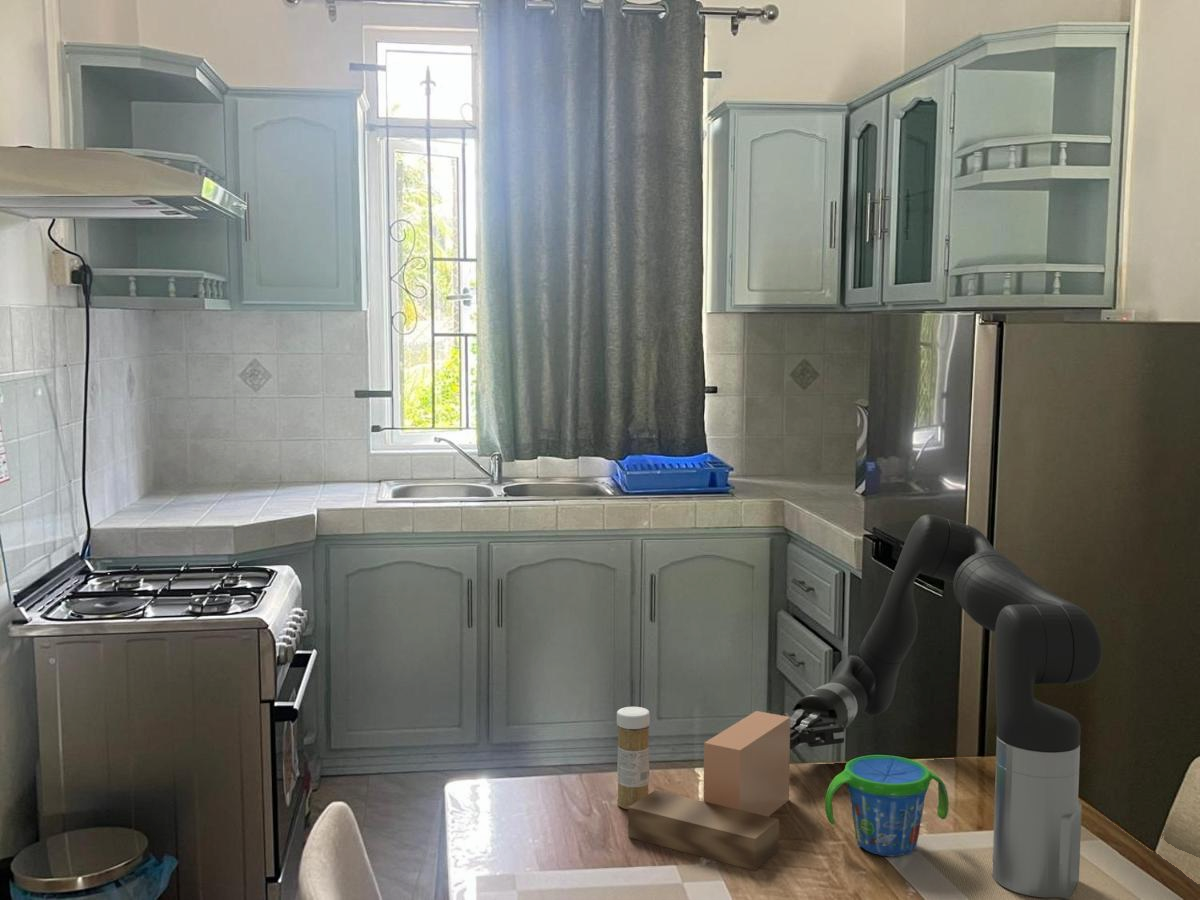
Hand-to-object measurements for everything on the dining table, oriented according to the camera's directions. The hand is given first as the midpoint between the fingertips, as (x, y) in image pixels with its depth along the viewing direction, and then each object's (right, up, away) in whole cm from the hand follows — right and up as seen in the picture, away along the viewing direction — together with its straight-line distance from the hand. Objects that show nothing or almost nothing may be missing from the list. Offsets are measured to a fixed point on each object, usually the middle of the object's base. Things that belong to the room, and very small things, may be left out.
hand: (781, 744), depth 165 cm
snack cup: (+10, -8, -19) cm, 23 cm away
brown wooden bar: (-13, -8, -18) cm, 24 cm away
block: (-6, -7, -9) cm, 13 cm away
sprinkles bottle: (-21, -7, -5) cm, 23 cm away
